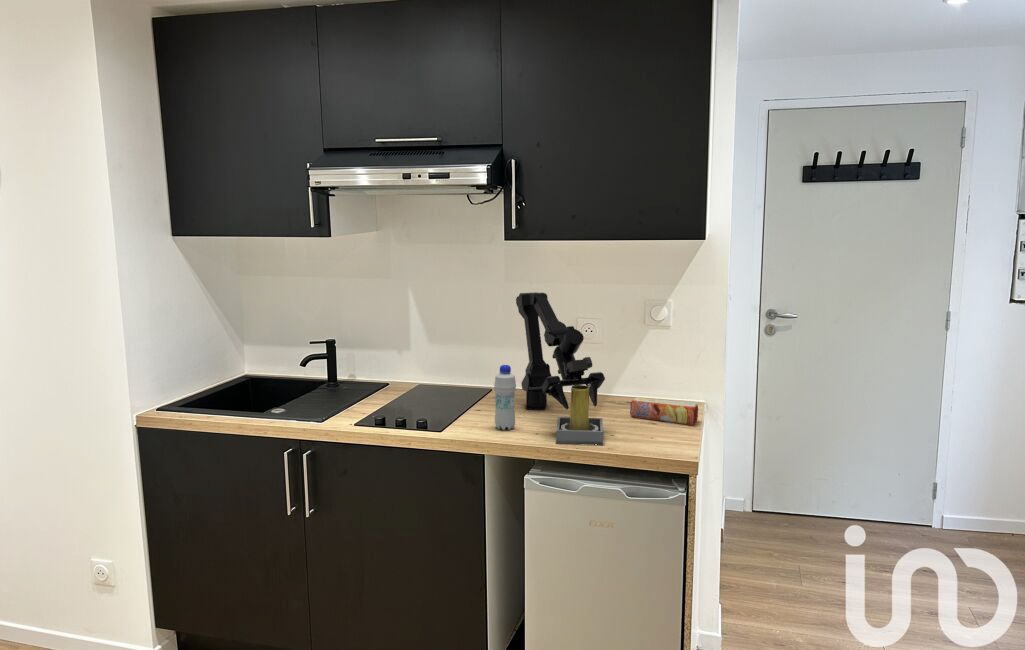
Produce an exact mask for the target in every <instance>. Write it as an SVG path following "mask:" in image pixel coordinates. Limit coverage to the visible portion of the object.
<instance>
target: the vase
mask: <svg viewBox="0 0 1025 650" xmlns="http://www.w3.org/2000/svg"><path fill="white" fill-rule="evenodd" d="M570 388H571V389H570V412H569V417H570V430H583V431H589V418H590V417H589V416H590V415H589V412H590V411H589V409H590V396H589V387H588V386H586V385H585V384H584V385H573V386H570Z"/></svg>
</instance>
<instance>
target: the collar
mask: <svg viewBox="0 0 1025 650" xmlns="http://www.w3.org/2000/svg"><path fill="white" fill-rule="evenodd" d="M561 430H570V423H565V424H563V425H561ZM589 431H598V426H596V425H594V424H592V423H589Z"/></svg>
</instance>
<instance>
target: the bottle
mask: <svg viewBox="0 0 1025 650" xmlns="http://www.w3.org/2000/svg"><path fill="white" fill-rule="evenodd" d="M511 371H512V368H511V366H510V365H509V364H502V365H500V366H499V373H497V374H495V379H494V392H495V411H494V412H495V415H494V424H495V426H496V428H497V429H498V430H502V431H505V430H506V428H507V430H508V431H509V430H510V431H511V430H512V429H514V428H515V425H516V410H515V409H516V407H515V406H516V402H515V400H516V399H515V397H516V395H515V394H516V393H515V392H516V390H517V389H516V387H517V384H516V375H515V374H514V373H511ZM511 428H512V429H511Z"/></svg>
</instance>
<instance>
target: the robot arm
mask: <svg viewBox="0 0 1025 650" xmlns="http://www.w3.org/2000/svg"><path fill="white" fill-rule="evenodd" d="M515 304H516V307H517V311H518V314H519V315H520V316H521V317H522V319H523V321H524V327H525V337H526V344H527V345H526V347H527V353H528V354H527V355H528V363H527V366H526V368H525V375H524V377H523V378H522V381H521V382H520V383H521V389H522V390H523V391H524V392H526V394H525V396H526V399H525V400H526V401H525V410H545V409H546V407H547V406H548V396H549V397H550V396H551V397H553V398H554V399H555V400H556V401H557V402H558V403H560V405H561V406H562V407H564V409H565V410H569V409H570V407H569V403H568V400H567V398H566V397H567V396H566V394H565V392H564V387H572V386H574V385H584V386H588V387H589V399H590V401H591V403H592V405H593V406H594V407H597V406H598V389H600V388H601V386H602V385H603V383H604V382H605V380H606V377H605V375H604V373H603V372H601V371H597V372H589V374H588V376H587V377H583V376H584V375H585V372H586V371H589V369H591V368H593V360H592V359H591V357H590V356H585V357H584V358H582V359H576V357H575V354H576V353H577V351H578V350H579V348H580V347H581V345H582V343H583V342H584V339H585V337H584V334H583V333H582V332H581V331H580V330H578V329H575V326H574V325H571V326H570V325H569V326H567V325H566V324H565V323H563V322H561V321H560V320H559V319H558V318H557V316H556V315H557V314H556V313H555V311H554V309H553V307H552V305H551V304H550V301H549V299H548V294H547V293H546V292H520V293H518V296H516V298H515ZM539 319H540V321H541V323H542V325H543V326H542V327H544V333H543V337H544V341H545V343H546V344H547V346H548V347H555V348H554V350H553V353H552V359H554V360H555V362H556V364H557V367H558V370H557V374H559V375H552V373H551V368H550V367H551V366H550V364H549V363H547V362H545V361H546V360H544V356H543V355H544V354H543V347H542V338H541V330H540V321H539ZM560 377H561V378H560Z"/></svg>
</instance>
